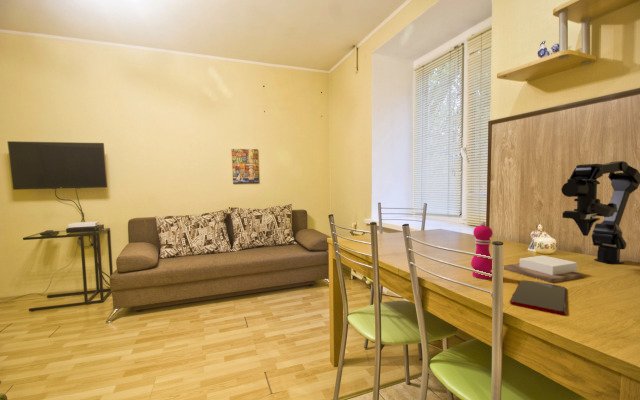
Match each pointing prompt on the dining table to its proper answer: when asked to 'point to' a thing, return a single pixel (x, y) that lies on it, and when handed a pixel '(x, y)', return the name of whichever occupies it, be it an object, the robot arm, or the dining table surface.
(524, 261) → the white flat box
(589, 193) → the robot arm
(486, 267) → the pepper mill
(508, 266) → the brown flat board
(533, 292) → the smartphone
